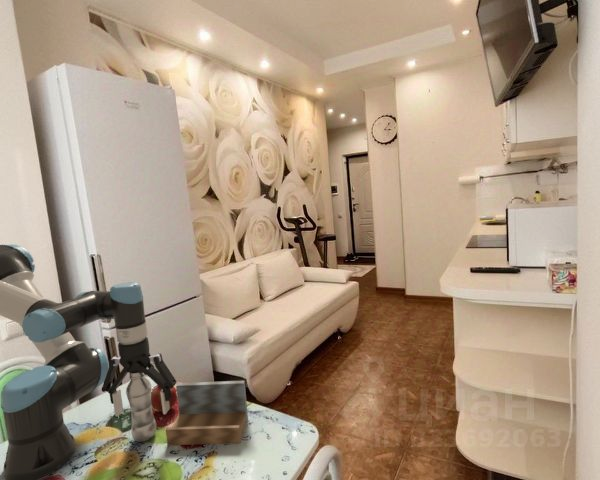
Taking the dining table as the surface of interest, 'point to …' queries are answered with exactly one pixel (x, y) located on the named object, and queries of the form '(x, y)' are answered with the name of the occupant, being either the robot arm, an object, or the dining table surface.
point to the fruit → (157, 398)
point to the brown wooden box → (209, 413)
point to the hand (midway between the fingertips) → (142, 412)
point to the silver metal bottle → (141, 407)
